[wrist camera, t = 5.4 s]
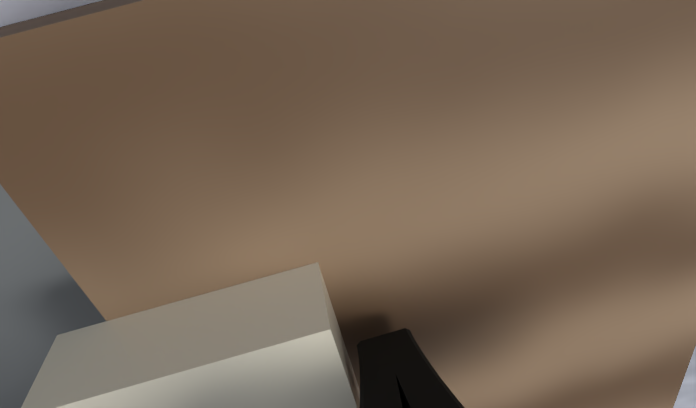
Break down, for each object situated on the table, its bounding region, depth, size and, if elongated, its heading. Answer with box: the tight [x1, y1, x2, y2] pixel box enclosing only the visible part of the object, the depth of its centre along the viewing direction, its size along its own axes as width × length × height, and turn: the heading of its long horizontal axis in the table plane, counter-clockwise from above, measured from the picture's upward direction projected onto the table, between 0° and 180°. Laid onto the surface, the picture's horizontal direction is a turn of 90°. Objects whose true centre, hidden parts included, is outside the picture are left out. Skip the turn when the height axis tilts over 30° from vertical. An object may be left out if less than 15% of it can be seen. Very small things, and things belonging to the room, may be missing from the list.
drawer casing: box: [0, 0, 696, 408], centre depth 13 cm, size 18×16×3 cm
